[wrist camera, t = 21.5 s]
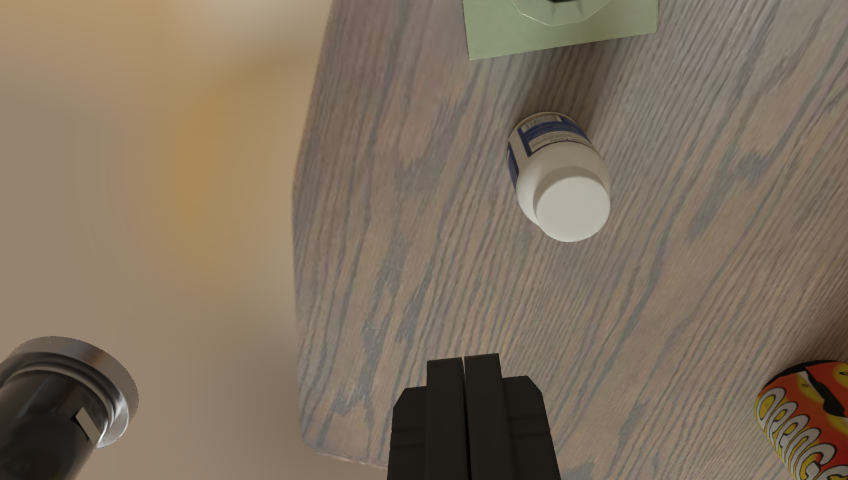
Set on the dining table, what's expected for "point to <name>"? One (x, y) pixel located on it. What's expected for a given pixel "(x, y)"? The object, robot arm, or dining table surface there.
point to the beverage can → (808, 419)
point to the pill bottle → (558, 176)
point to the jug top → (551, 23)
